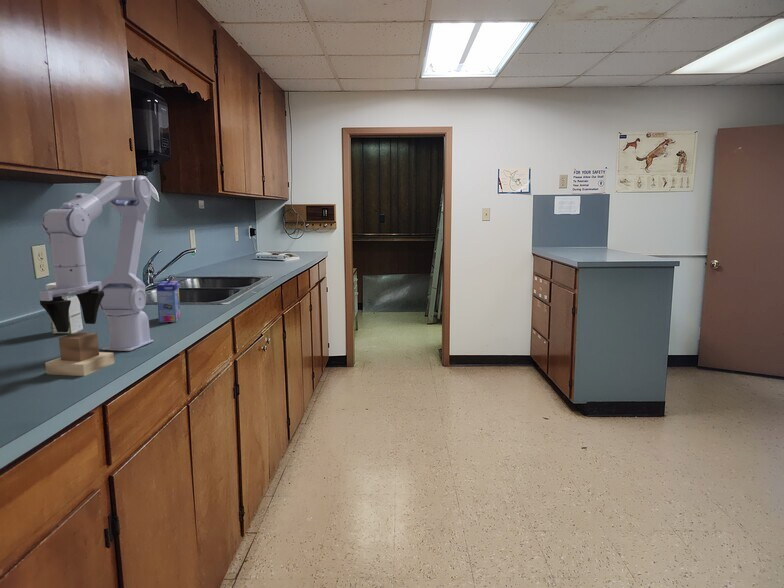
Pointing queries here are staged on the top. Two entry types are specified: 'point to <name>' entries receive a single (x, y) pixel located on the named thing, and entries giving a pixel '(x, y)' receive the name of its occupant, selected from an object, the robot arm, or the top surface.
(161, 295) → the ink cartridge box
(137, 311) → the robot arm
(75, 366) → the maple block
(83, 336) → the walnut cube
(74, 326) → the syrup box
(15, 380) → the top surface
